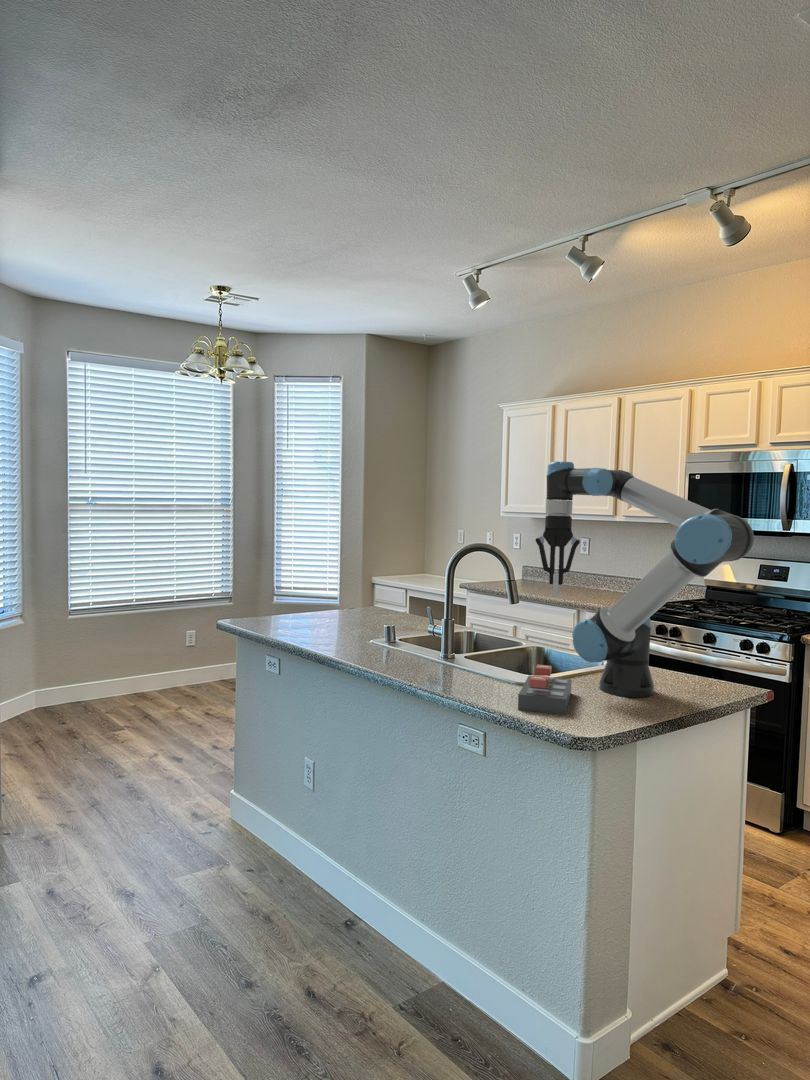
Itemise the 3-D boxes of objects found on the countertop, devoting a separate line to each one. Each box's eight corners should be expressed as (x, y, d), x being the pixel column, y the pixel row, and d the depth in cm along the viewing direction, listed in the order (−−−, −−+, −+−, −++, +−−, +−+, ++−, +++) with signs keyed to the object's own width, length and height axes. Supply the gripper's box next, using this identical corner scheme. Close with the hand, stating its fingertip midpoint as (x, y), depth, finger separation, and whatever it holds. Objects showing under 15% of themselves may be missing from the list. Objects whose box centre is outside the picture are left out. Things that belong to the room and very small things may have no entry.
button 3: (546, 684, 196) (546, 676, 196) (545, 688, 192) (545, 680, 192) (531, 683, 197) (531, 675, 197) (529, 686, 193) (529, 678, 193)
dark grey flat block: (571, 690, 213) (572, 676, 213) (565, 714, 189) (565, 698, 189) (529, 686, 216) (530, 672, 216) (517, 709, 192) (518, 693, 192)
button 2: (548, 683, 203) (549, 676, 203) (547, 687, 199) (547, 679, 199) (534, 682, 204) (534, 675, 204) (532, 686, 200) (532, 678, 200)
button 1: (551, 672, 209) (551, 665, 209) (550, 676, 206) (550, 668, 205) (537, 671, 210) (537, 664, 210) (535, 674, 207) (535, 667, 207)
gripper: (582, 515, 218) (579, 595, 220) (537, 514, 222) (534, 592, 223) (581, 516, 211) (577, 598, 212) (534, 514, 215) (531, 595, 216)
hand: (555, 595), depth 218 cm, fingers closed
